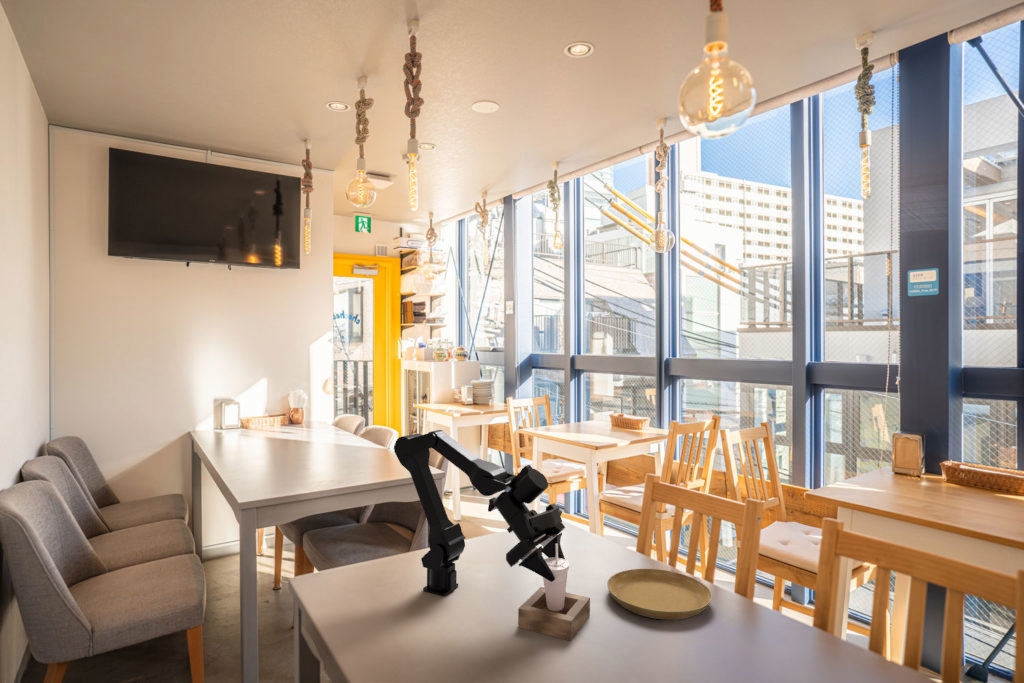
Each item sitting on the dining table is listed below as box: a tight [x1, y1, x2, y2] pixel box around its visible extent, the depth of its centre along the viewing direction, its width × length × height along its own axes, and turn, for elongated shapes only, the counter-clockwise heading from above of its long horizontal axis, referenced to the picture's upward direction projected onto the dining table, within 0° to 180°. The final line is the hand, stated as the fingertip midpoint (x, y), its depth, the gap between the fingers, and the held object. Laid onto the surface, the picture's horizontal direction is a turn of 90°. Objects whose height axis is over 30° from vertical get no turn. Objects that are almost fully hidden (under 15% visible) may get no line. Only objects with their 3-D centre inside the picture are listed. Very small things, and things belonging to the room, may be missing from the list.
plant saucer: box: [606, 568, 713, 621], centre depth 134 cm, size 24×24×3 cm
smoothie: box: [542, 543, 570, 611], centre depth 124 cm, size 6×6×14 cm
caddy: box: [517, 586, 591, 642], centre depth 124 cm, size 12×12×4 cm
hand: (560, 575), depth 123 cm, fingers closed on smoothie, 6 cm apart
